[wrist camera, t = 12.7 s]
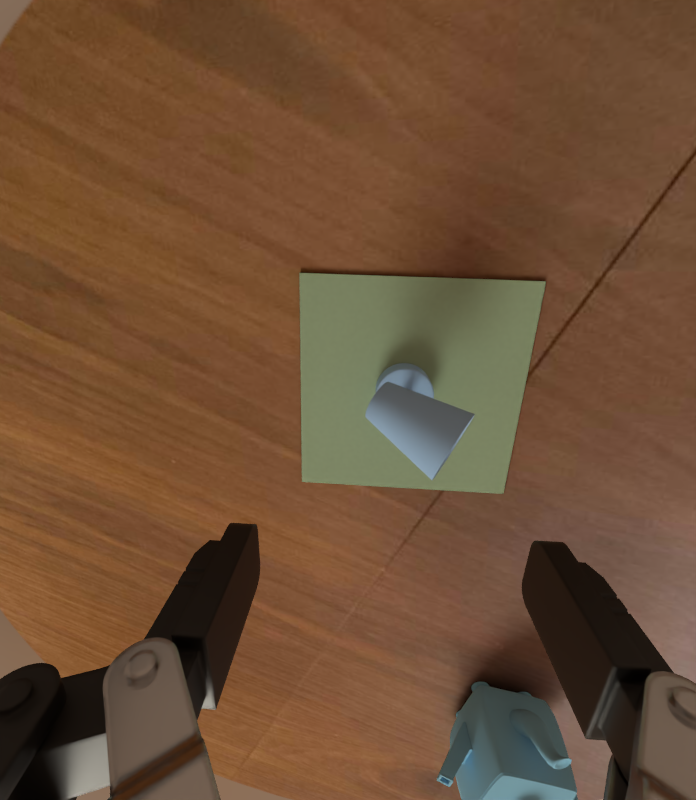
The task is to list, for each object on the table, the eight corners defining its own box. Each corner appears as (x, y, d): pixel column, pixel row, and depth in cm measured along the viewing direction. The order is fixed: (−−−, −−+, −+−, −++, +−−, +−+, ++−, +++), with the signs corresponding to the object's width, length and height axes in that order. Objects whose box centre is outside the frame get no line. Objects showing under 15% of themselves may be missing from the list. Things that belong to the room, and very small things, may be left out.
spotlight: (460, 383, 30) (383, 347, 30) (500, 437, 21) (389, 386, 20) (430, 433, 32) (356, 400, 31) (455, 505, 23) (350, 459, 22)
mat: (299, 272, 28) (299, 272, 28) (545, 281, 28) (546, 281, 27) (302, 480, 35) (302, 481, 34) (502, 492, 34) (503, 493, 34)
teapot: (514, 763, 46) (551, 891, 37) (404, 737, 46) (413, 860, 37) (582, 665, 40) (646, 789, 31) (456, 635, 40) (482, 751, 30)
